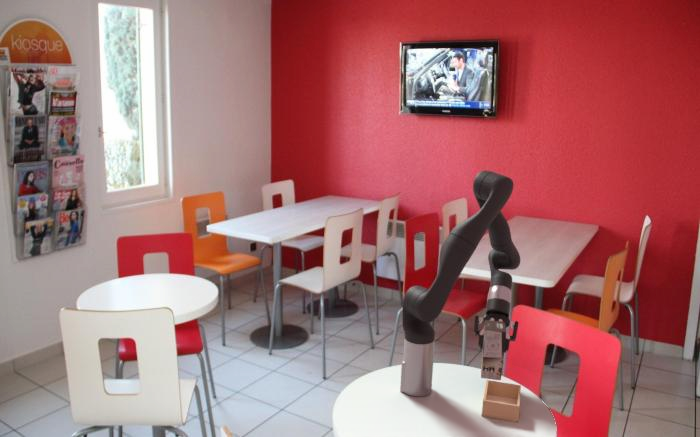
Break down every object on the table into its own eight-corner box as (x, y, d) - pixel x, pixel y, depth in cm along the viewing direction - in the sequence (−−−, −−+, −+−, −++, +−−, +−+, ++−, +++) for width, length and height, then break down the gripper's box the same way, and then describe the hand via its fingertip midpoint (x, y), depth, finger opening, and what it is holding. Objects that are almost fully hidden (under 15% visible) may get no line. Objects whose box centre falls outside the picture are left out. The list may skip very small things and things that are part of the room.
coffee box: (501, 381, 195) (506, 332, 191) (480, 378, 196) (485, 329, 193) (500, 368, 204) (505, 321, 200) (480, 365, 205) (485, 319, 201)
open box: (481, 416, 183) (483, 400, 182) (485, 394, 196) (486, 380, 195) (517, 422, 181) (519, 406, 180) (519, 400, 193) (520, 385, 192)
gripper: (476, 294, 205) (469, 341, 197) (522, 300, 202) (517, 349, 193) (476, 304, 212) (470, 350, 203) (520, 310, 208) (515, 358, 199)
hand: (493, 349), depth 198 cm, fingers closed on coffee box, 6 cm apart
